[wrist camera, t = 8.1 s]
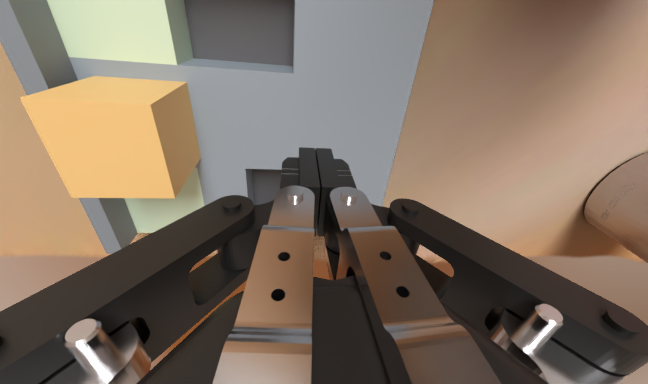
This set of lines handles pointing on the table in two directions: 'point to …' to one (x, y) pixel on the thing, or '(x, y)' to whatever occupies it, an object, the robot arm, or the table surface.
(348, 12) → the board
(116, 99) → the block
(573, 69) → the table surface
